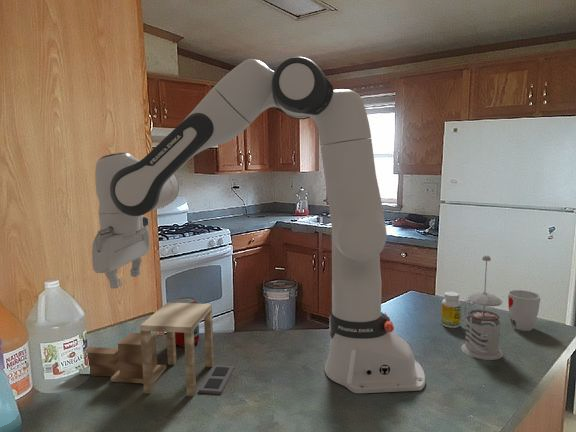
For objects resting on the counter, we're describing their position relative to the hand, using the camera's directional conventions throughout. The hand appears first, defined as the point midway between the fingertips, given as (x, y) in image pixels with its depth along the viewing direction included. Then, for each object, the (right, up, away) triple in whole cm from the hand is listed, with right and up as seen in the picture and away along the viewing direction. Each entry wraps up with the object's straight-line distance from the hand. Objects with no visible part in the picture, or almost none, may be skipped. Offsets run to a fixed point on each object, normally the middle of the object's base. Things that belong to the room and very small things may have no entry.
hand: (126, 281), depth 98 cm
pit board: (+22, -21, -5) cm, 31 cm away
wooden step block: (0, -21, -2) cm, 21 cm away
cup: (+107, -17, +23) cm, 110 cm away
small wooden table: (+14, -21, -4) cm, 26 cm away
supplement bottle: (+87, -17, +25) cm, 92 cm away
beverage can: (+11, -19, +15) cm, 26 cm away
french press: (+88, -19, +9) cm, 90 cm away
